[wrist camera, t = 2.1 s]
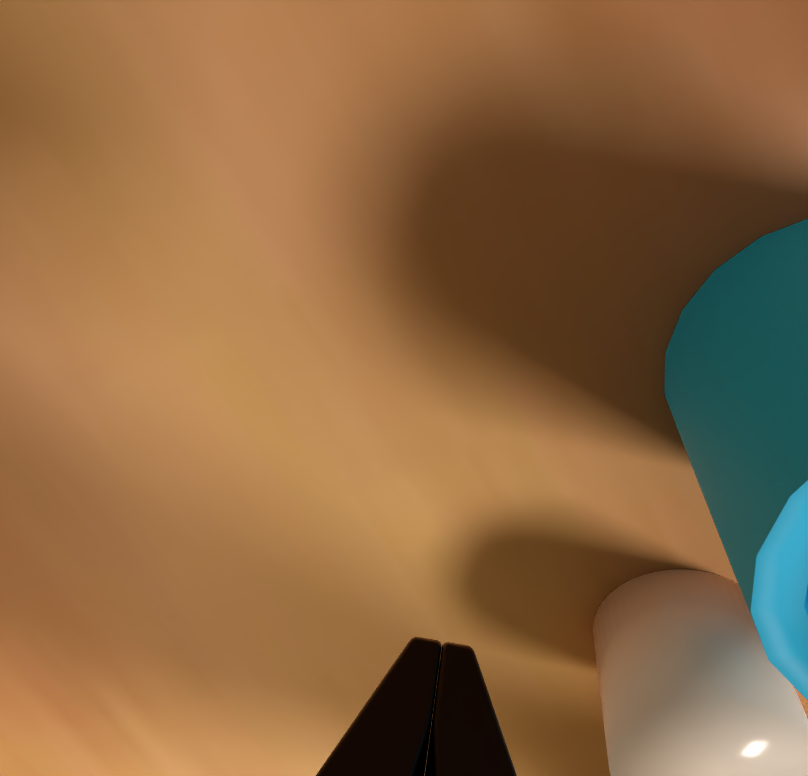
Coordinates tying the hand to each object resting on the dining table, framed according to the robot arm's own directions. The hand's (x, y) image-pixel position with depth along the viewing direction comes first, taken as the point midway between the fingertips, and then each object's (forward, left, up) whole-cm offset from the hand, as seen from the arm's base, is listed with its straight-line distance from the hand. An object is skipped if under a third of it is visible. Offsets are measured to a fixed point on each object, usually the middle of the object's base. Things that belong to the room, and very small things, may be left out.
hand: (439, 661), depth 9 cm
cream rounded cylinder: (-10, -8, -11) cm, 17 cm away
